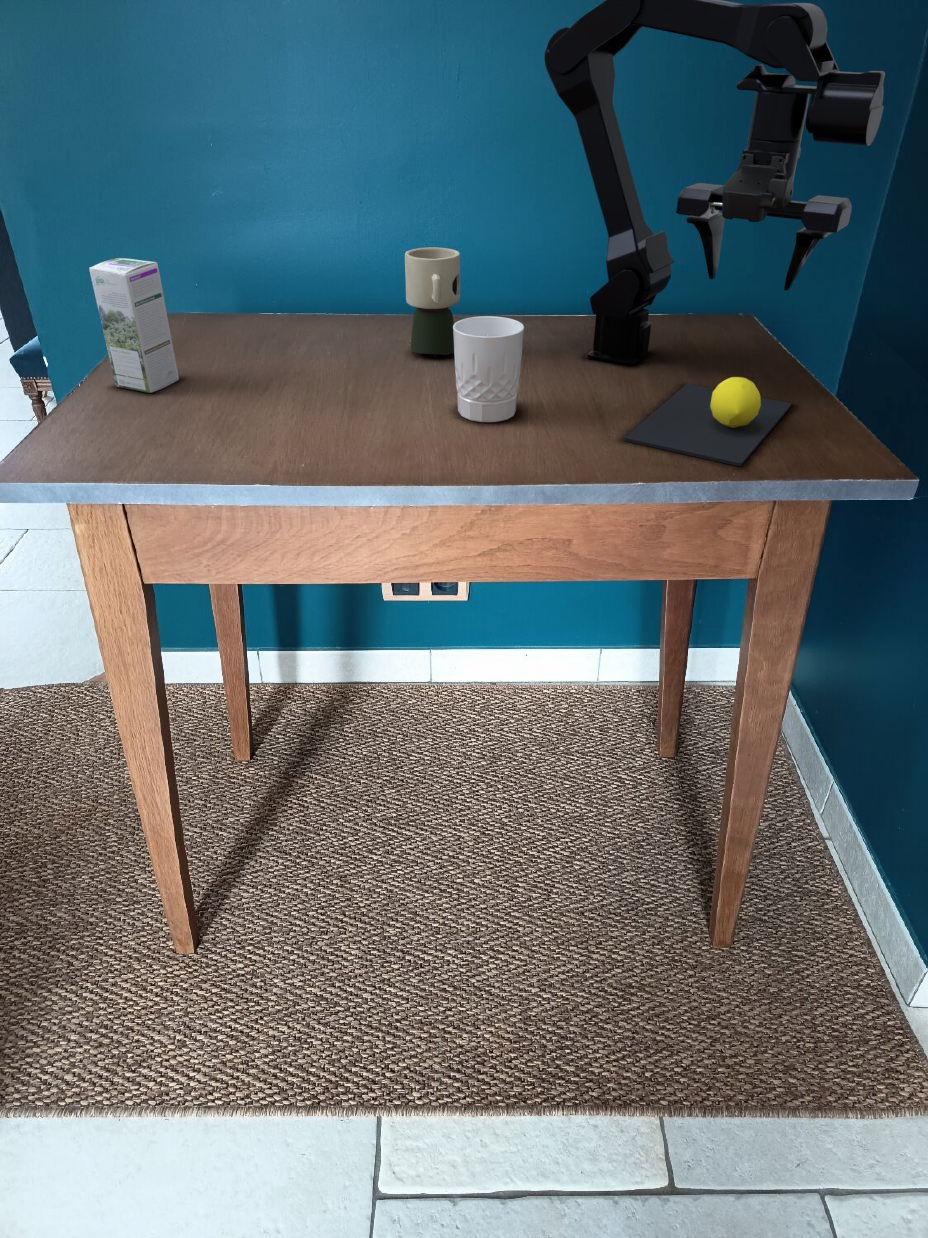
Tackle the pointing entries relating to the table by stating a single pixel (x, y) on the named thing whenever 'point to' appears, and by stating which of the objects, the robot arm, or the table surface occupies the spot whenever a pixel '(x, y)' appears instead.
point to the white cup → (487, 367)
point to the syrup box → (135, 323)
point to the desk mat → (705, 427)
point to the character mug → (432, 297)
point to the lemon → (735, 402)
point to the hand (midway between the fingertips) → (748, 283)
